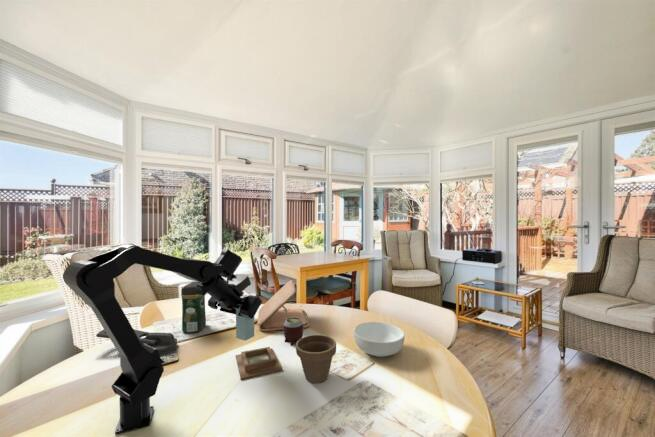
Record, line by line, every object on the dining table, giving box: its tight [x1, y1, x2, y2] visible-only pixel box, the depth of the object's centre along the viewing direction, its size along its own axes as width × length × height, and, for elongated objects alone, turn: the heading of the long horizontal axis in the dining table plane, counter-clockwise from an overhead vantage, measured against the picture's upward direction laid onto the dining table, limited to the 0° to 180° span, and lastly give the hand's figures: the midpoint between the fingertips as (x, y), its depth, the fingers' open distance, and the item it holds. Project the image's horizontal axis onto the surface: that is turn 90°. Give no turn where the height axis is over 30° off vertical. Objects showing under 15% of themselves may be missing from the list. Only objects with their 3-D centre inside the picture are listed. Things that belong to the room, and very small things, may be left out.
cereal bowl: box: [353, 321, 405, 358], centre depth 99 cm, size 17×17×7 cm
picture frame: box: [235, 346, 284, 381], centre depth 91 cm, size 14×12×2 cm
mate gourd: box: [280, 304, 304, 347], centre depth 106 cm, size 8×8×15 cm
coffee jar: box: [180, 281, 207, 334], centre depth 118 cm, size 10×8×19 cm
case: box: [257, 279, 310, 333], centre depth 126 cm, size 20×21×16 cm
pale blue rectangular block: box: [235, 294, 255, 342], centre depth 95 cm, size 4×4×13 cm
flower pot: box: [295, 334, 337, 384], centre depth 84 cm, size 12×11×10 cm
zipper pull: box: [95, 329, 178, 356], centre depth 101 cm, size 9×7×25 cm
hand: (248, 315), depth 96 cm, fingers closed on pale blue rectangular block, 4 cm apart
